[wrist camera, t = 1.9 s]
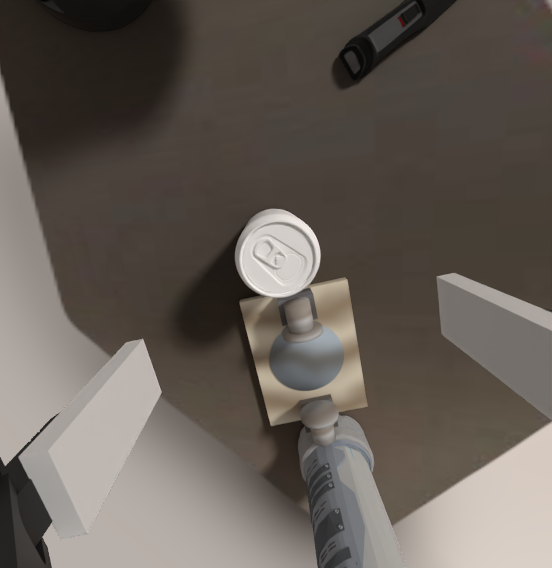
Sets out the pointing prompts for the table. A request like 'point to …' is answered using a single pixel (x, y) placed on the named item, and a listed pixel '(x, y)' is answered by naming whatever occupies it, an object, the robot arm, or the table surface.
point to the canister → (347, 502)
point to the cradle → (307, 356)
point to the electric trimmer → (389, 34)
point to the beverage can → (277, 254)
